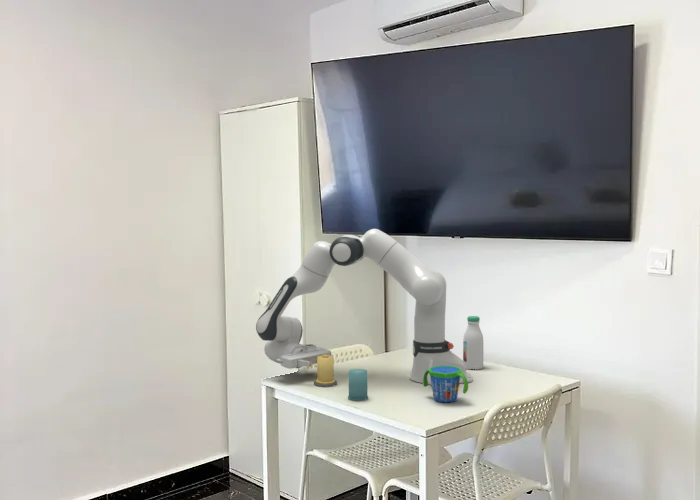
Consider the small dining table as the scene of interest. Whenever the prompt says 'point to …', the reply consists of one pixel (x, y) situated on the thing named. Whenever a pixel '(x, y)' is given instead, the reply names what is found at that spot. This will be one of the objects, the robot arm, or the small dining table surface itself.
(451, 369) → the snack cup
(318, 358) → the tan cylinder
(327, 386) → the mat
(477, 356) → the milk bottle
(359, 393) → the canister
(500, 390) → the small dining table surface
